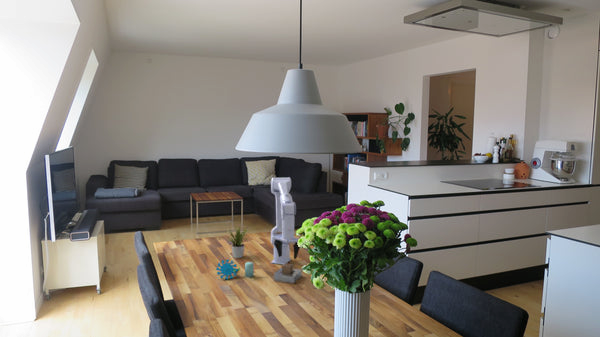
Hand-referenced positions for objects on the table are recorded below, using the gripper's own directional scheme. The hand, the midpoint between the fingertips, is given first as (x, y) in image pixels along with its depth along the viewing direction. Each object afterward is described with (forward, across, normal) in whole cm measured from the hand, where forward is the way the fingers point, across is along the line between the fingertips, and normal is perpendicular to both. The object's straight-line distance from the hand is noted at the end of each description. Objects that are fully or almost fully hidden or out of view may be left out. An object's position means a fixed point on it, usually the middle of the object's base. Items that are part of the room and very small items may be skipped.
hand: (287, 257), depth 203 cm
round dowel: (+10, -18, -4) cm, 21 cm away
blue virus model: (+10, -26, -10) cm, 30 cm away
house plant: (+10, -35, +18) cm, 41 cm away
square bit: (+10, 0, -1) cm, 10 cm away
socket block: (+10, 0, 0) cm, 10 cm away
